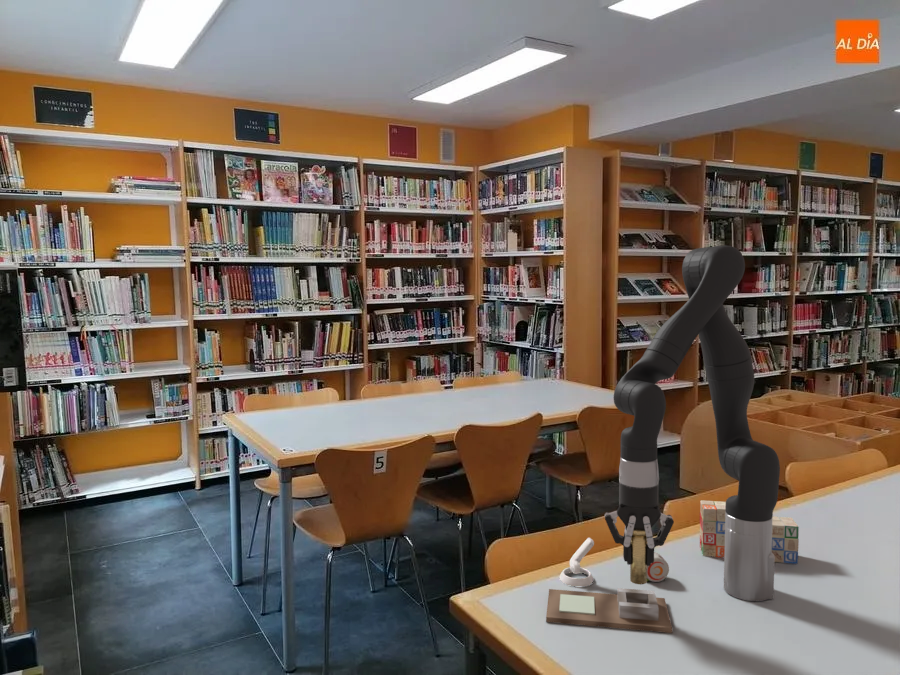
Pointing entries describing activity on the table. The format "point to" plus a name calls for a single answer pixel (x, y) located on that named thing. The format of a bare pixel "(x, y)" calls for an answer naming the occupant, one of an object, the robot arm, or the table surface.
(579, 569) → the white vr controller
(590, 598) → the sage pad
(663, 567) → the roller toy
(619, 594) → the walnut board
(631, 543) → the brass peg
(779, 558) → the stack of blocks
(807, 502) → the table surface
